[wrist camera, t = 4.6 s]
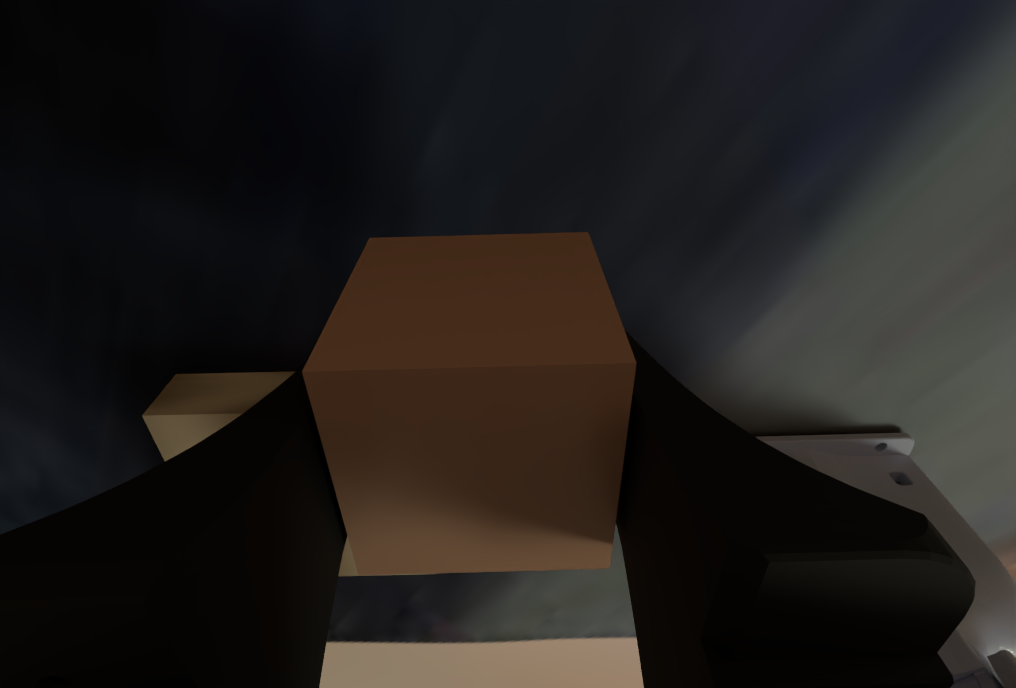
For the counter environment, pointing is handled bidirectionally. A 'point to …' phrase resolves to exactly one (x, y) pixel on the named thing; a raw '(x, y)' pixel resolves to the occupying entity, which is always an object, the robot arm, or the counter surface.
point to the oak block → (213, 416)
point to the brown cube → (475, 404)
